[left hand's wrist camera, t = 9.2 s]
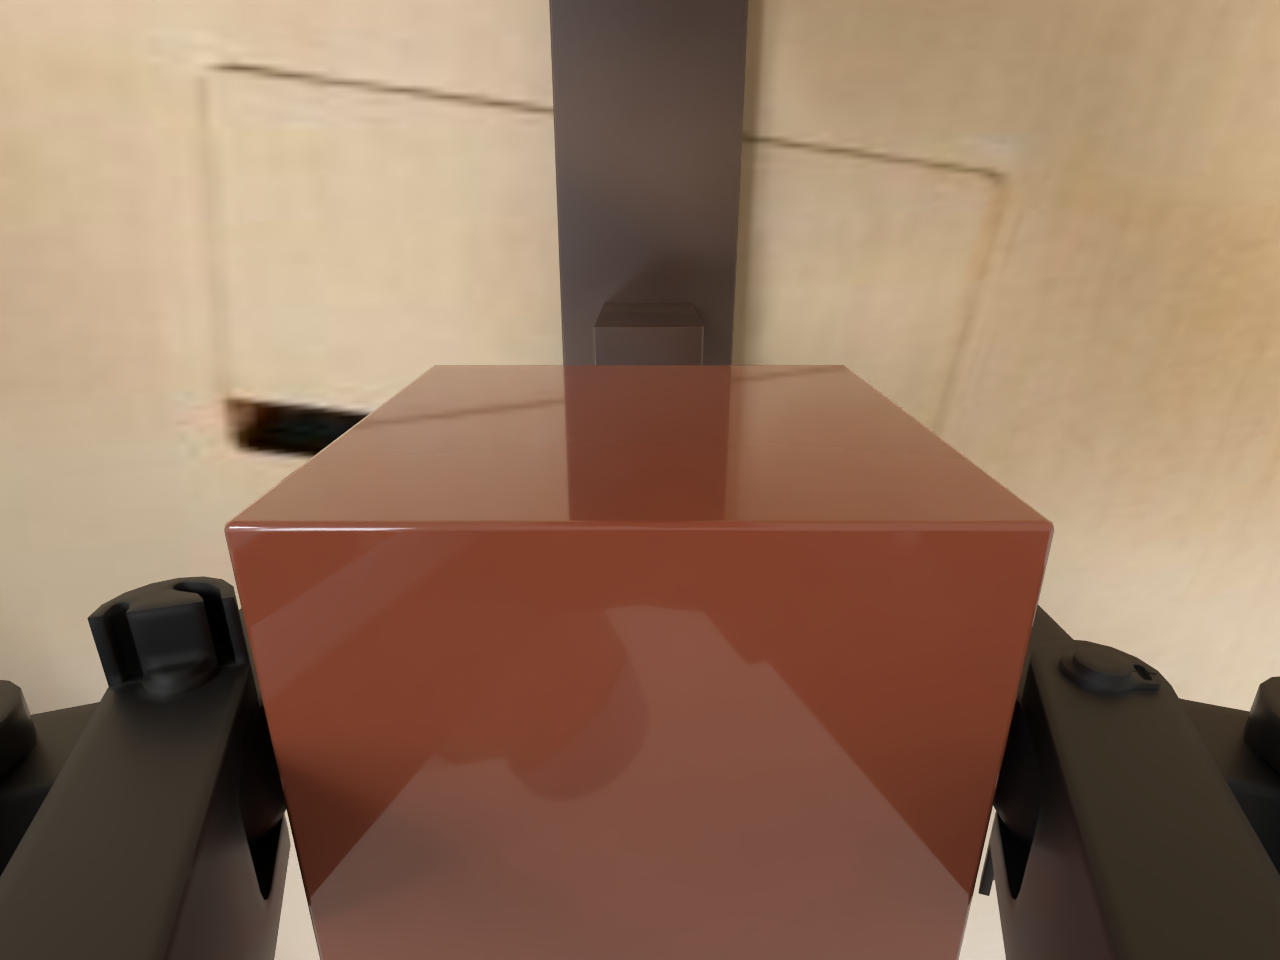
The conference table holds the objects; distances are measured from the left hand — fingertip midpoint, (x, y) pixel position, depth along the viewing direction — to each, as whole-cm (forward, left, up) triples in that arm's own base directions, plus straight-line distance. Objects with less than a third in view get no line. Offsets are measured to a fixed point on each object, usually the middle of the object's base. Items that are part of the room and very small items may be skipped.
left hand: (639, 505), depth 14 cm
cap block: (0, 0, +2) cm, 2 cm away
